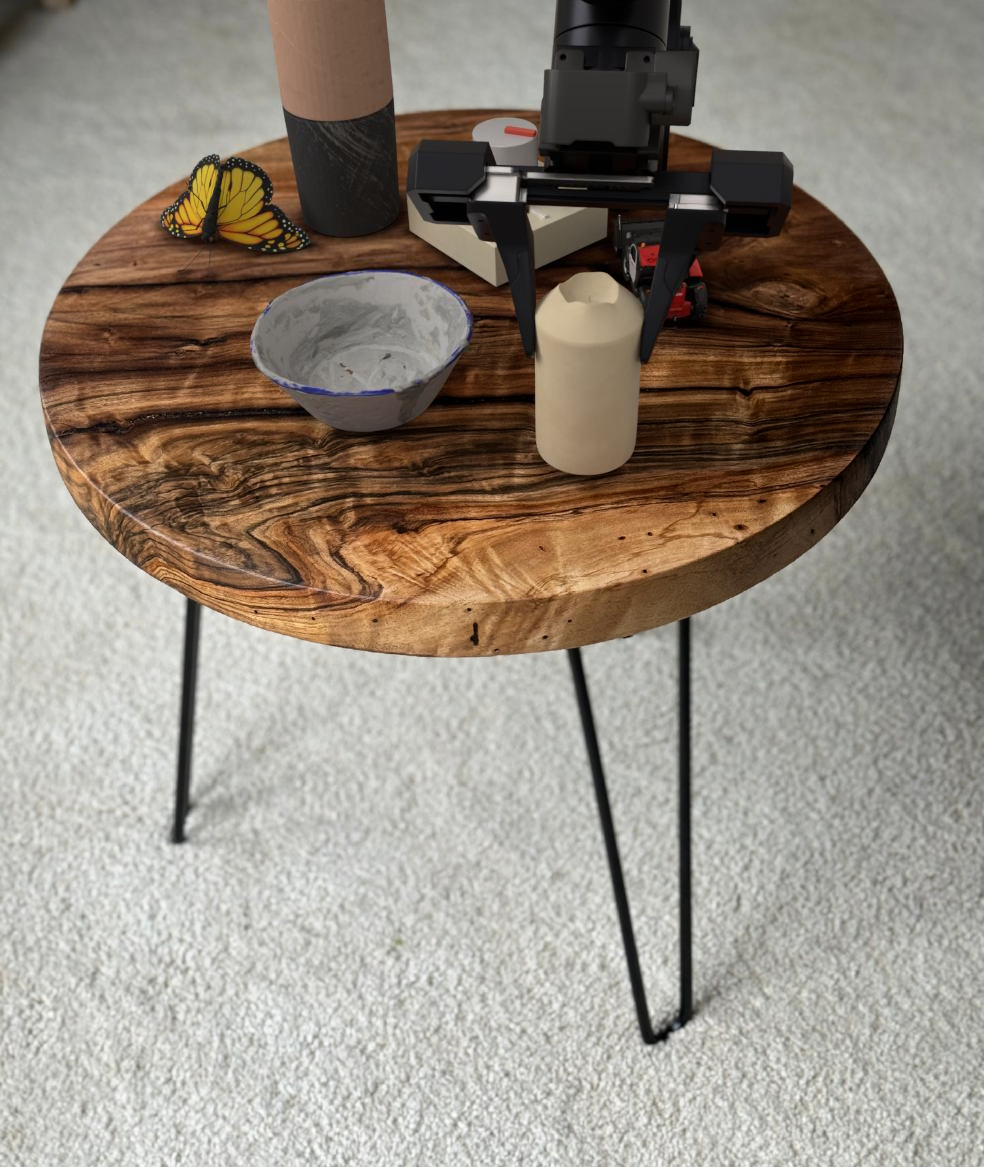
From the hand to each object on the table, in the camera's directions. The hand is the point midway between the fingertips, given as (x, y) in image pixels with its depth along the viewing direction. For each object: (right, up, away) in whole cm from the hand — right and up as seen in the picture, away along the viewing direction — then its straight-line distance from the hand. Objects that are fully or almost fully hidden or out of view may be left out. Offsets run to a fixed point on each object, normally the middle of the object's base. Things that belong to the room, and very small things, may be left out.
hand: (585, 360), depth 62 cm
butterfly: (-24, +14, +21) cm, 35 cm away
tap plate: (-4, +13, +25) cm, 29 cm away
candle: (0, -4, +6) cm, 7 cm away
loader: (+6, +8, +20) cm, 22 cm away
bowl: (-12, 0, +13) cm, 17 cm away
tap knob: (-4, +16, +23) cm, 28 cm away
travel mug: (-15, +16, +28) cm, 36 cm away
